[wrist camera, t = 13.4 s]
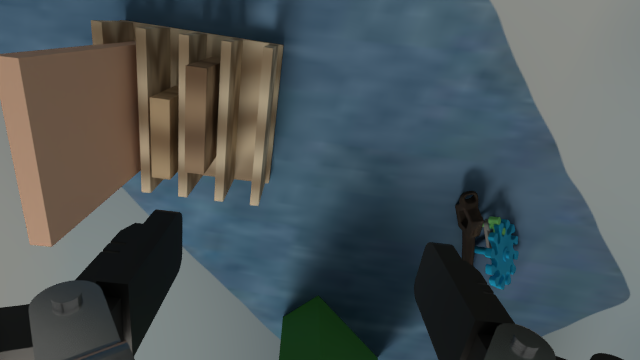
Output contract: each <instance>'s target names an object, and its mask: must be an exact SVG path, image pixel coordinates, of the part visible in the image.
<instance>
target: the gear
mask: <svg viewBox="0 0 640 360" xmlns="http://www.w3.org/2000/svg"><path fill="white" fill-rule="evenodd" d="M482 227H484V232H485V239H486V246H487V248H484V247H478V246H475V249H474V253H479V254H484V255H485V257H488V258H490V259H491V260H492V264H491V265H489V264H487V265H486V274H490V275H493V274H494V275H493V276H490V278H489V282H490V285H491V286H495V287H496V288H499V289H504V287H505V284H507V285H509V284H510V283H511V278H510V274H514V273H515V271H516V267H515V265H514V263H513V259H516V260H517V259H518V251H514V249H513V244H515V245H517V244H518V236H513V235H511V234H512V233H514V232H515V226H514V224H510V221H509V220H506V219H501V218H500V217H491V216H490V217H489V219H485V221H484V223H483V226H482ZM492 229H493V232H492Z"/></svg>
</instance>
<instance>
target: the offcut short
mask: <svg viewBox="0 0 640 360" xmlns="http://www.w3.org/2000/svg"><path fill="white" fill-rule="evenodd" d="M150 127H151V163H152V177H153V178H162V179H171V178H172V177H173V176H174V175H175V174H176V172H177V171H178V141H179V86H173V87H171V88H169V89H167V90H165V91H162V92H160V93H158V94H156V95H154V96H151V97H150Z"/></svg>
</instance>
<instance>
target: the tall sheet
mask: <svg viewBox="0 0 640 360" xmlns="http://www.w3.org/2000/svg"><path fill="white" fill-rule="evenodd" d="M0 100H1V104H2V110H3V114H4V119H5V124H6V129H7V134H8V139H9V144H10V149H11V153H12V159H13V163H14V169H15V174H16V178H17V183H18V188H19V193H20V198H21V203H22V208H23V213H24V218H25V223H26V228H27V233H28V237H29V242H30V245H37V246H48V247H52V246H53V245H54V244H56V243H57V242H58V241H59V240H60V239H61V238H62V237H64V236H65V235H66V234H67V233H68V232H69V231H71V230H72V229H73V228H74V227H75V226H76V225H77V224H78V223H80V222H81V221H82V220H83V219H84V218H85V217H87V216H88V215H89V214H90V213H91V212H93V211H94V210H95V209H96V208H97V207H98V206H100V205H101V204H102V203H103V202H104V201H105V200H107V199H108V198H109V197H110V196H111V195H112V194H114V193H115V192H116V191H117V190H118V189H119V188H120V187H122V186H123V185H124V184H125V183H126V182H127V181H129V180H130V179H131V178H132V177H133V176H134V175H136V174H137V173H138V172H139V171H140V170H141V159H140V134H139V109H138V84H137V59H136V41H130V42H120V43H109V44H99V45H89V46H79V47H68V48H58V49H48V50H37V51H27V52H17V53H6V54H0Z"/></svg>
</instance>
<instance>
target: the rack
mask: <svg viewBox="0 0 640 360" xmlns="http://www.w3.org/2000/svg"><path fill="white" fill-rule="evenodd" d="M91 27H92V39H93V45H99V44H109V43H120V42H130V41H136V59H137V84H138V109H139V134H140V159H141V185H142V192H147V193H151V192H152V191H153V190H154V189H155V188H156V187H157V186H158V185H159V183H160V182H161V181H162V180H163V179H162V178H153V177H152V163H151V127H150V97H151V96H154V95H156V94H158V93H160V92H162V91H165V90H167V89H169V88H171V87H173V86H179V141H178V171H177V172H178V196H180V197H188V195H189V194H190V192H191V191H192V190H193V188H194V187H195V185H196V184H197V183H198V181H199V180H200V178H201V177H202V176H203V175H202V174H195V173H187V172H185V68H186V65H188V64H191V63H194V62H197V61H200V60H203V59H206V58H209V57H216V58H221V61H220V84H219V107H218V130H217V153H216V158H215V159H214V161H213V162H212V164H211V165H210V166H209V168H208V169H207V171H206V172H205V173H204V175H206V176H214V177H215V199H214V201H222V202H223V201H224V198H225V196H226V194H227V192H228V190H229V188H230V186H231V184H232V182H233V180H234V179H238V180H246V181H252V186H251V198H250V205H255V206H258V205H259V202H260V198H261V195H262V191H263V188H264V184H265V183H269V180H270V171H271V161H272V151H273V142H274V132H275V123H276V113H277V104H278V94H279V84H280V75H281V65H282V56H283V46H284V45H281V44H274V43H268V42H261V41H255V40H248V39H242V38H236V37H229V36H223V35H216V34H210V33H204V32H197V31H191V30H184V29H178V28H171V27H165V26H159V25H152V24H146V23H139V22H133V21H126V20H120V21H97V20H91Z"/></svg>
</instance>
